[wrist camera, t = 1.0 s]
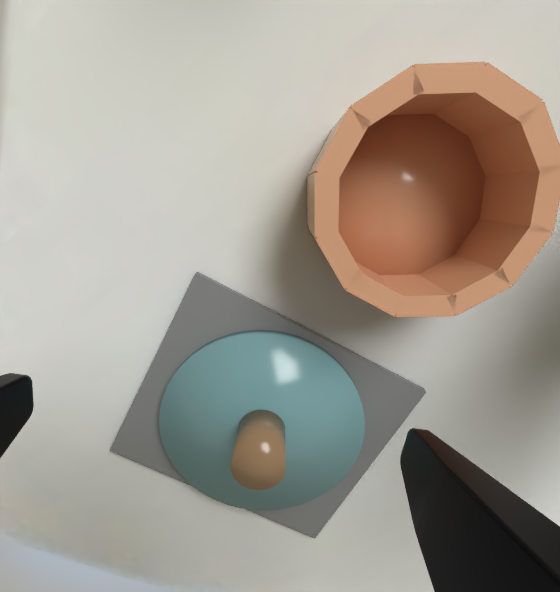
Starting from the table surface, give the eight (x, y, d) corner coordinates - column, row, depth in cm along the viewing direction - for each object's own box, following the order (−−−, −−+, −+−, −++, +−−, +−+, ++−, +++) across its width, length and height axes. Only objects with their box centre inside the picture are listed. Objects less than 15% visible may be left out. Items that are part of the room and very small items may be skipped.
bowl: (531, 159, 19) (616, 149, 14) (421, 315, 21) (460, 352, 16) (371, 56, 17) (404, 6, 13) (275, 236, 20) (271, 250, 15)
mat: (423, 388, 23) (426, 392, 22) (314, 533, 26) (314, 538, 26) (197, 271, 21) (195, 273, 20) (112, 446, 24) (109, 450, 24)
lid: (401, 387, 22) (426, 429, 18) (300, 526, 26) (302, 584, 22) (215, 292, 21) (199, 316, 17) (133, 453, 24) (104, 503, 20)
